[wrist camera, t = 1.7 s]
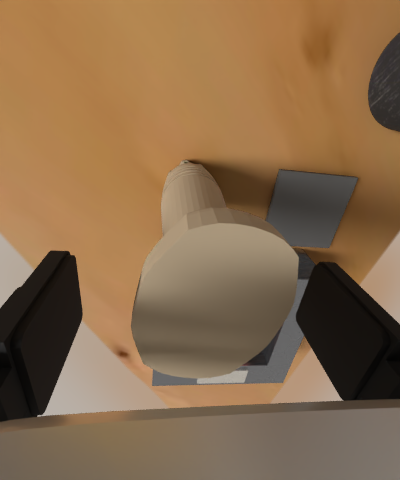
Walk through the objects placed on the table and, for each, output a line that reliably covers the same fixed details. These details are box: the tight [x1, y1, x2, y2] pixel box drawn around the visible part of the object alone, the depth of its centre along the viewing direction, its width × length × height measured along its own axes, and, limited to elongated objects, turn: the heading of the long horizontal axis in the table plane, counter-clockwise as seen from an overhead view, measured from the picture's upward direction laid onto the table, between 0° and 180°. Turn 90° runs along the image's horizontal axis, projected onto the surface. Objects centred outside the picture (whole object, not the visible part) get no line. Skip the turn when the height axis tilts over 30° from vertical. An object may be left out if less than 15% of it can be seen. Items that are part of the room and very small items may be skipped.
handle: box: [131, 160, 299, 378], centre depth 15 cm, size 5×6×15 cm
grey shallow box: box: [152, 249, 316, 386], centre depth 26 cm, size 14×14×5 cm
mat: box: [266, 169, 358, 248], centre depth 23 cm, size 7×7×1 cm
